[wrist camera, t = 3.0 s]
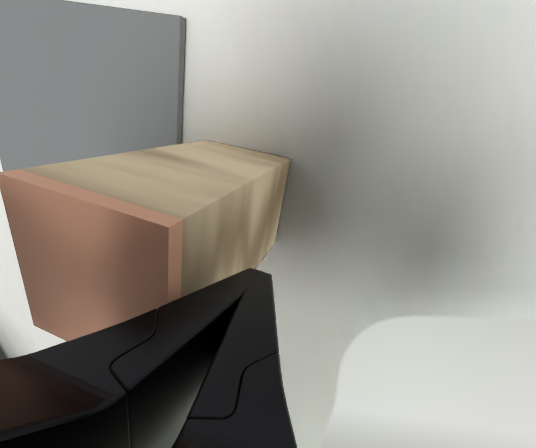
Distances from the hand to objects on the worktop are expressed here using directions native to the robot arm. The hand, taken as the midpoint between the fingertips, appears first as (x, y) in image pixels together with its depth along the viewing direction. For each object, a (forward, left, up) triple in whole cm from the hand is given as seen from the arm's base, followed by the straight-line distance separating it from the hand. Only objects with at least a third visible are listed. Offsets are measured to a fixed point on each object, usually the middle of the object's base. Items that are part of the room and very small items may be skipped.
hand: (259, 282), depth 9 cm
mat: (0, +15, -8) cm, 16 cm away
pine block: (0, +4, -8) cm, 8 cm away
